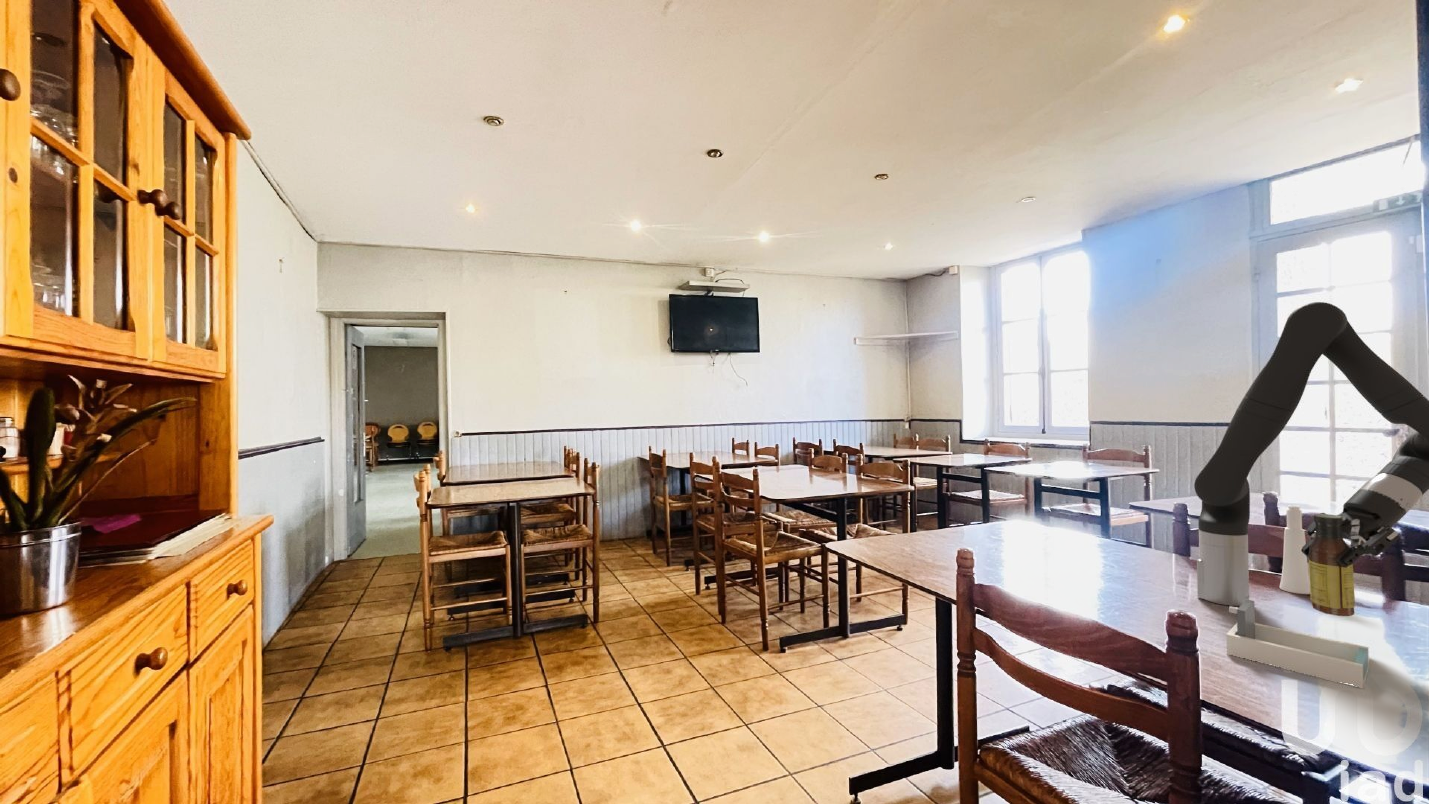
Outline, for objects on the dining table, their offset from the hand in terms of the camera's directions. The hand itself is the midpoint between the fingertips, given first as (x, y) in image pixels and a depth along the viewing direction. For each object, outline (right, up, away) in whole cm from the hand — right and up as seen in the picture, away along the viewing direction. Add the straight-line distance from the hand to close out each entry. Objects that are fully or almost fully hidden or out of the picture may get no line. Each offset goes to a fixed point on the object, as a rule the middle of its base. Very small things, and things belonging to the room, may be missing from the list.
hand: (1322, 559), depth 118 cm
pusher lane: (-13, -18, -7) cm, 23 cm away
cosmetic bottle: (+26, -17, +31) cm, 44 cm away
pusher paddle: (-18, -17, -1) cm, 24 cm away
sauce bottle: (+2, -11, 0) cm, 11 cm away
